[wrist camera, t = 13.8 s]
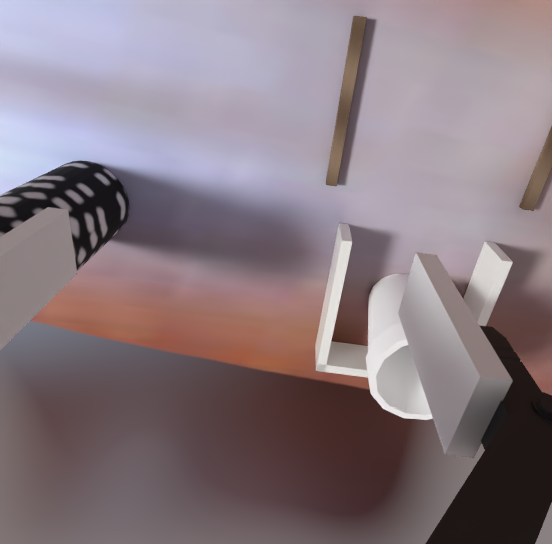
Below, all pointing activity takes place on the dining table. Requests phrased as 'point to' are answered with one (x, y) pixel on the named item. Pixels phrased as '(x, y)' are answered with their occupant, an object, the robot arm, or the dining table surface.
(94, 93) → the dining table surface
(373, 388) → the foam cup
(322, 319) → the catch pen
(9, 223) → the white-spotted black cylinder
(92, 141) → the dining table surface
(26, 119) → the dining table surface
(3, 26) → the dining table surface
